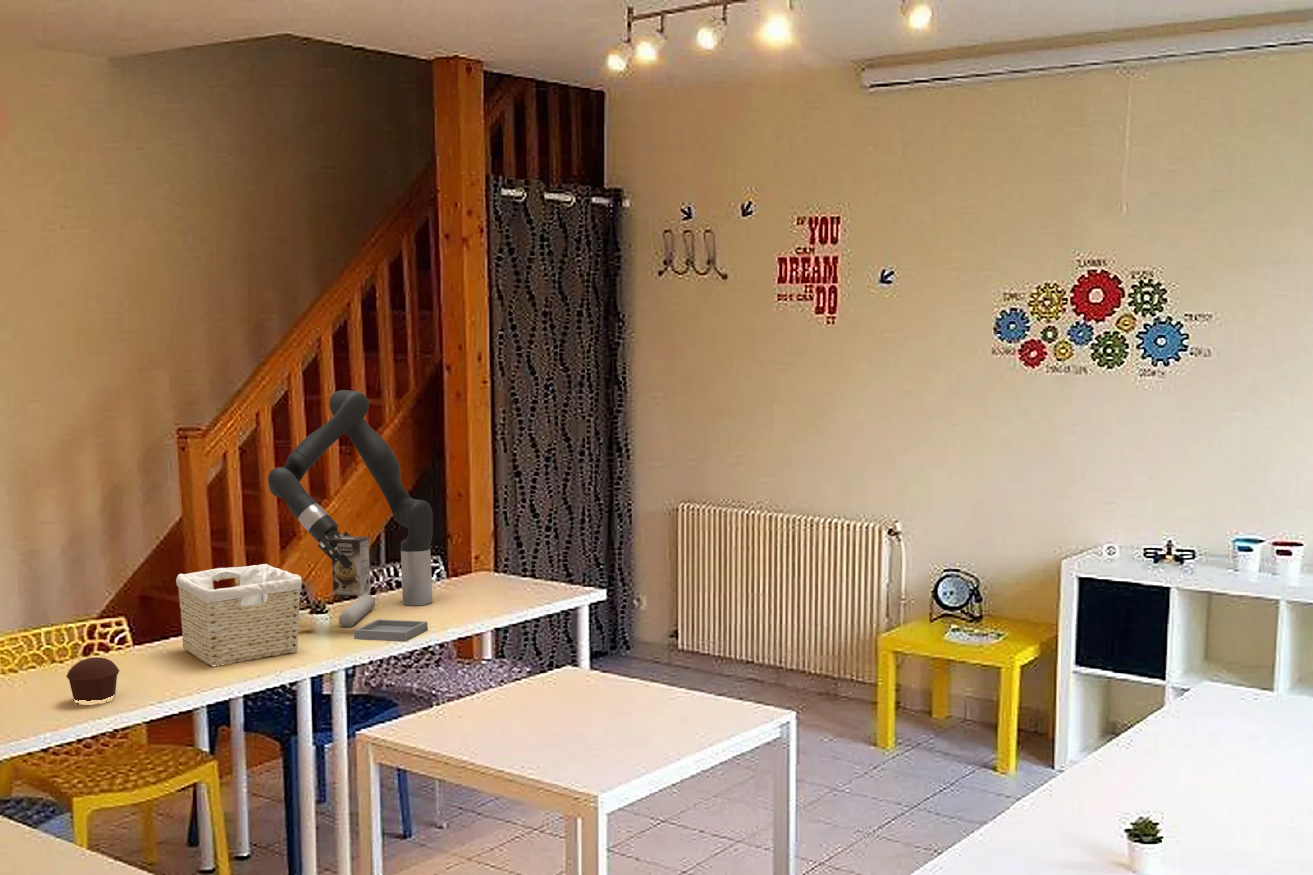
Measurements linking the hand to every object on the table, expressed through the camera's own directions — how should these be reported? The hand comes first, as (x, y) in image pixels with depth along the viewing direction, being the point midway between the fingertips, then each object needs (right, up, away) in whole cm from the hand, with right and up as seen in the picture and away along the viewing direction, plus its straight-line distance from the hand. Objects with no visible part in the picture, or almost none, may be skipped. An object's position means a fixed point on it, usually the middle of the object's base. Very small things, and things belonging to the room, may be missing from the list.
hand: (355, 564), depth 378 cm
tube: (-4, -19, +20) cm, 28 cm away
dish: (+11, -20, -2) cm, 23 cm away
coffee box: (-1, -9, +1) cm, 9 cm away
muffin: (-48, -27, -64) cm, 84 cm away
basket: (-27, -22, -19) cm, 40 cm away
